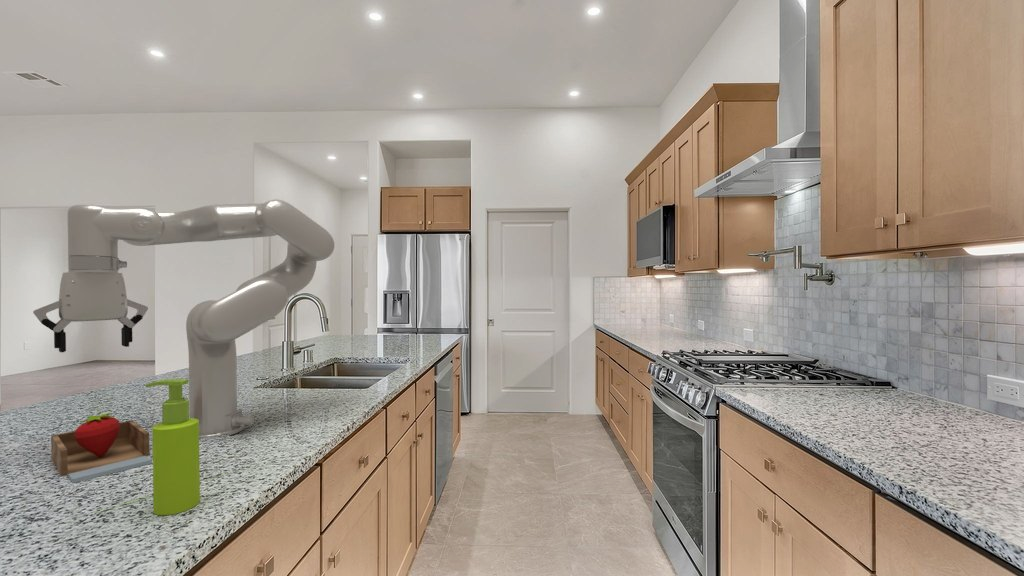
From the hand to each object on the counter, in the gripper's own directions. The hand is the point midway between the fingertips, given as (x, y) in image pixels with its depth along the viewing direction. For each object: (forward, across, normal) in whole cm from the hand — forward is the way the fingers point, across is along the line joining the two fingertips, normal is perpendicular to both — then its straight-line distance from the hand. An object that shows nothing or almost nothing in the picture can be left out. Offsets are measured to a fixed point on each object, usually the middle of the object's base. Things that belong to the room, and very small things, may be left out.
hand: (95, 348), depth 92 cm
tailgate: (+21, 0, +12) cm, 24 cm away
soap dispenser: (+22, -4, +39) cm, 45 cm away
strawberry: (+21, 0, +4) cm, 22 cm away
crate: (+22, 0, +4) cm, 23 cm away
